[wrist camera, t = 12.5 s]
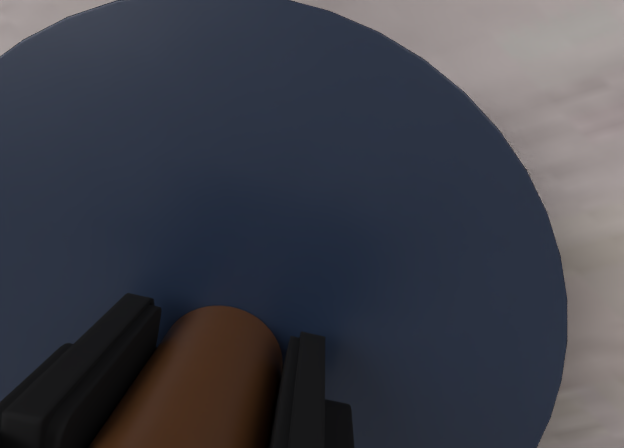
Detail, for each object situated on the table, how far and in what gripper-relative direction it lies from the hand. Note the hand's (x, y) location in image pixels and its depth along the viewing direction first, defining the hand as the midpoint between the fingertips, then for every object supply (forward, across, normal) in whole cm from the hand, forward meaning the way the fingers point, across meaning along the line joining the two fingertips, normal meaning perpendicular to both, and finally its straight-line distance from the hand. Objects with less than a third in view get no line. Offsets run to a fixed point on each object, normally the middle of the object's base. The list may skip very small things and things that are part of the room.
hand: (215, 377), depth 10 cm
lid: (+1, 0, 0) cm, 1 cm away
